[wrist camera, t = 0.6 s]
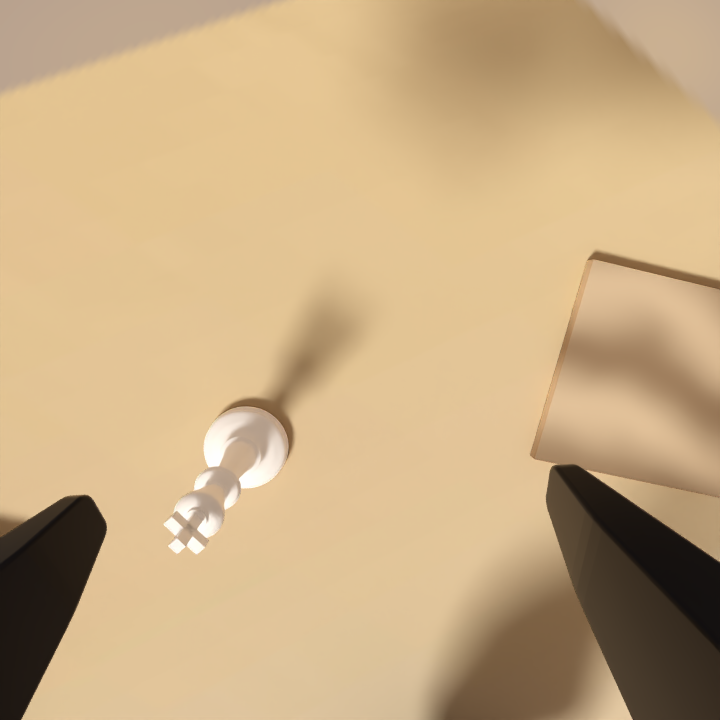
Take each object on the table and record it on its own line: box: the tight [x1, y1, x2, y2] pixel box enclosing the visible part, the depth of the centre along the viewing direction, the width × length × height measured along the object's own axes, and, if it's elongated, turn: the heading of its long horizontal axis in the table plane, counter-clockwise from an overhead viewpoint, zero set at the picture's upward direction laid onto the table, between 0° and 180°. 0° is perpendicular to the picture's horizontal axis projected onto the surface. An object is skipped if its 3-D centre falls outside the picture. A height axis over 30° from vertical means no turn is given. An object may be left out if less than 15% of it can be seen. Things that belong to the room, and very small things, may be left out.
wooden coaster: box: [530, 259, 720, 497], centre depth 24 cm, size 12×12×1 cm
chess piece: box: [164, 406, 289, 555], centre depth 19 cm, size 5×5×10 cm
